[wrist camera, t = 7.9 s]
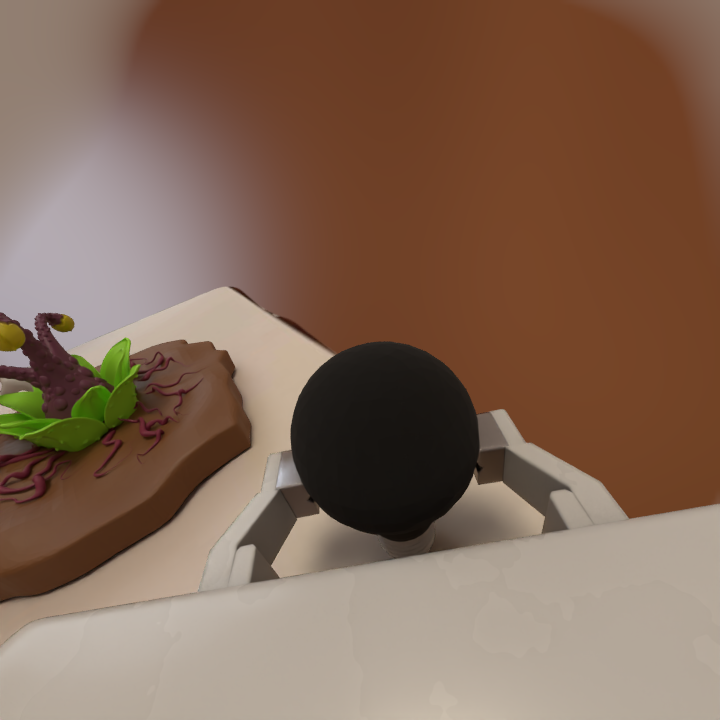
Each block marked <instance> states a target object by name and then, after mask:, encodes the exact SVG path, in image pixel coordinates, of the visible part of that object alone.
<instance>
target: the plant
mask: <svg viewBox="0 0 720 720" xmlns="http://www.w3.org/2000/svg"><path fill="white" fill-rule="evenodd" d="M35 320H36V321H35V325H36V327H35V329H36V330H37V331H38V333H37V334H38V339H39V340H40V341H39V340H36V339H35V338H34V337H33V333H32V332H31V331H30V330H28V329H24V328H22V327H21V326H20V323H19V322H18V321H16V320H12V319H10V318H9V317H7V316H6V315H5V314H4V313H0V351H16V350H17V349H18V348H21V349H22V350H23V354H24V355H25V356H28V358H29V359H30V366H31V368H21V367H12V366H9V367H7V366H5V365H1V366H0V378H6V379H15V380H18V381H26V382H28V383H30V384H31V385H32V387H33V390H34V391H33V392H17V393H10V394H4V395H0V404H1V405H3V406H6V407H9V408H12V409H14V410H16V411H18V412H16V413H14V414H12V413H11V414H3V415H0V601H2V600H5V599H8V598H11V597H15V596H30V595H37V594H40V593H44V592H46V591H49V590H51V589H54V588H56V587H58V586H60V585H63V584H65V583H68V582H70V581H72V580H74V579H76V578H78V577H80V576H82V575H83V574H85V573H87V572H89V571H91V570H92V569H94V568H95V567H97V566H98V565H100V564H101V563H103V562H104V561H106V560H107V559H109V558H110V557H112V556H113V555H115V554H116V553H118V552H119V551H121V550H123V549H125V548H127V547H128V546H130V545H131V544H133V543H135V542H136V541H138V540H140V539H141V538H143V537H144V536H146V535H148V534H149V533H151V532H153V531H155V530H156V529H158V528H159V527H161V526H162V525H163V524H165V523H166V522H167V521H168V520H170V519H171V517H172V516H173V515H174V514H175V513H176V511H177V510H178V509H179V507H180V506H181V505H182V503H183V502H184V500H185V499H186V498H187V497H188V495H189V494H190V493H191V492H192V491H193V489H194V488H195V487H196V486H197V485H198V484H199V483H201V482H202V481H203V480H204V479H205V478H206V477H208V476H209V475H210V474H212V473H213V472H214V471H216V470H217V469H218V468H220V467H221V466H222V465H224V464H225V463H227V462H228V461H229V460H231V459H232V458H234V457H235V456H237V455H238V454H240V453H241V452H243V451H244V450H246V449H247V448H249V447H250V446H251V444H250V430H251V424H250V421H249V419H248V417H247V416H246V414H245V412H244V410H243V409H242V397H241V394H240V392H239V391H238V389H237V387H236V385H235V383H234V381H233V380H232V378H231V376H232V373H233V372H234V370H235V366H234V364H233V362H232V360H231V358H230V356H229V354H228V352H227V351H226V350H216V349H215V347H214V345H213V343H211V342H209V341H205V342H199V343H192V344H188V343H187V342H186V341H185V340H177V341H171V342H166V343H162V344H159V345H155V346H152V347H150V348H147V349H145V350H142V351H140V352H138V353H135V354H133V355H130V356H129V352H130V346H131V341H130V339H128V338H124V339H123V340H121V341H120V342H118V343H117V344H115V345H114V346H113V347H112V348H111V349H110V350H109V352H108V353H107V355H106V356H105V358H104V360H103V362H102V365H100V366H97V367H95V368H94V367H93V366H92V365H91V364H90V363H89V362H87V361H86V360H85V359H84V358H83V357H81V356H78V355H70V354H68V353H67V352H66V351H65V350H64V349H63V347H62V346H61V345H60V344H59V343H58V341H57V340H56V339H55V338H54V336H53V335H52V333H51V331H50V328H48V326H47V322H48V323H49V325H51V327H52V328H54V329H55V330H57V331H60V332H68V331H72V329H73V328H74V321H73V319H72V318H70V317H69V316H67V315H64V314H58V313H47V314H46V313H42V314H41V313H38V316H36V318H35Z"/></svg>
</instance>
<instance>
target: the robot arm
mask: <svg viewBox="0 0 720 720" xmlns="http://www.w3.org/2000/svg"><path fill="white" fill-rule="evenodd" d="M476 415H477V419H478V428H479V441H480V447H479V456H478V459H477V463H476V466H475V470H474V475H475V478H476V480H477V483H478V485H481V484H487V483H494V482H500V481H503V483H504V484H506V485H507V486H508V487H509V488H511V489H512V490H513V491H514V492H515V493H517V494H518V495H519V496H520V497H522V498H523V499H524V500H525V501H526V502H528V503H529V504H530V505H531V506H533V507H534V508H535V509H536V510H537V511H539V512H540V513H541V514H542V515H544V516H545V520H544V525H543V529H542V534H538V535H532V536H526V537H520V538H514V539H509V540H503V541H497V542H491V543H485V544H479V545H473V546H467V547H461V548H455V549H449V550H443V551H437V552H432V553H426V554H420V555H414V556H408V557H402V558H396V559H390V560H384V561H379V562H373V563H367V564H361V565H355V566H349V567H343V568H337V569H332V570H326V571H320V572H314V573H308V574H302V575H296V576H290V577H284V578H280V577H279V576H278V575H277V574H276V572H275V571H274V570H273V568H272V567H271V565H272V563H273V561H274V559H275V558H276V556H277V554H278V552H279V551H280V549H281V547H282V545H283V544H284V542H285V540H286V538H287V536H288V535H289V533H290V531H291V529H292V528H293V526H294V524H295V522H296V521H297V519H296V518H300V517H305V516H310V515H314V514H319V505H318V504H317V503H316V502H315V501H314V500H313V498H312V497H311V496H310V495H309V494H308V493H307V491H306V489H305V488H304V486H303V484H302V482H301V480H300V477H299V475H298V472H297V470H296V467H295V464H294V461H293V456H292V450H288V451H283V452H278V453H272V454H270V455H269V457H268V459H267V464H266V469H265V474H264V479H263V484H262V488H261V493H257V494H256V495H255V496H254V497H253V499H252V500H251V501H250V502H249V504H248V505H247V506H246V507H245V508H244V510H243V511H242V512H241V513H240V515H239V516H238V517H237V518H236V519H235V521H234V522H233V523H232V524H231V526H230V527H229V528H228V529H227V530H226V532H225V533H224V534H223V535H222V536H221V538H220V539H219V540H218V541H217V543H216V544H215V545H214V546H213V547H212V549H211V550H210V552H209V555H208V559H207V562H206V565H205V569H204V572H203V575H202V579H201V582H200V585H199V589H198V592H196V593H190V594H184V595H178V596H172V597H166V598H160V599H154V600H148V601H142V602H136V603H130V604H124V605H118V606H112V607H106V608H100V609H94V610H88V611H83V612H77V613H71V614H64V615H58V616H52V617H46V618H41V619H37V620H34V621H32V622H30V623H28V624H26V625H25V626H23V627H22V628H21V629H20V630H18V631H17V632H16V633H15V634H13V635H12V636H11V637H10V638H9V639H7V640H6V641H5V642H4V643H3V644H2V645H1V646H0V720H720V504H715V505H709V506H704V507H697V508H692V509H686V510H680V511H674V512H668V513H662V514H656V515H651V516H644V517H638V518H632V519H629V518H628V517H627V515H626V514H625V513H624V512H623V510H622V509H621V508H620V506H619V505H618V504H617V502H616V501H615V500H614V499H613V497H612V496H611V495H610V493H609V492H608V491H607V489H606V488H605V487H604V485H603V484H602V483H601V482H600V481H598V480H596V479H595V478H593V477H591V476H589V475H587V474H585V473H584V472H582V471H580V470H578V469H577V468H575V467H573V466H571V465H570V464H568V463H566V462H564V461H562V460H561V459H559V458H557V457H555V456H553V455H552V454H550V453H548V452H546V451H544V450H543V449H541V448H539V447H537V446H536V445H534V444H532V443H526V442H525V441H524V439H523V438H522V436H521V434H520V433H519V431H518V430H517V428H516V426H515V425H514V423H513V422H512V420H511V418H510V417H509V415H508V414H507V412H506V411H505V410H504V409H501V410H496V411H491V412H485V413H480V414H476Z"/></svg>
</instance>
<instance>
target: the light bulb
mask: <svg viewBox="0 0 720 720" xmlns="http://www.w3.org/2000/svg"><path fill="white" fill-rule="evenodd" d="M479 447H480V441H479V428H478V419H477V415H476V412H475V409H474V406H473V404H472V401H471V399H470V396H469V394H468V392H467V390H466V389H465V387H464V386H463V384H462V383H461V382H460V380H459V379H458V378H457V377H456V375H455V374H454V373H453V372H452V371H451V370H450V369H449V368H448V367H447V366H446V365H445V364H444V363H443V362H441V361H440V360H438V359H437V358H435V357H434V356H432V355H431V354H429V353H427V352H426V351H423V350H421V349H418V348H416V347H413V346H410V345H406V344H401V343H394V342H371V343H366V344H362V345H358V346H355V347H352V348H349V349H347V350H344V351H342V352H340V353H338V354H337V355H335V356H334V357H332V358H331V359H329V360H328V361H327V362H326V363H324V364H323V365H322V366H321V367H320V368H319V369H318V370H317V371H316V372H315V373H314V374H313V375H312V376H311V377H310V379H309V380H308V382H307V383H306V385H305V386H304V388H303V390H302V392H301V394H300V395H299V398H298V401H297V404H296V407H295V410H294V414H293V419H292V424H291V449H292V456H293V461H294V464H295V467H296V470H297V472H298V475H299V477H300V480H301V482H302V484H303V486H304V488H305V489H306V491H307V493H308V494H309V495H310V496H311V497H312V498H313V500H314V501H315V502H316V503H317V504H318V505H319V507H320V508H321V509H322V510H323V511H324V512H326V513H327V514H328V515H329V516H330V517H332V518H333V519H335V520H337V521H338V522H340V523H342V524H344V525H346V526H349V527H351V528H354V529H356V530H358V531H362V532H365V533H369V534H376V535H377V537H378V540H379V542H380V544H381V546H382V547H383V548H384V550H385V551H386V552H387V553H388V554H389V555H391V556H392V557H394V558H402V557H408V556H414V555H420V554H426V553H427V552H428V551H429V549H430V548H431V546H432V545H433V542H434V539H435V525H434V521H436V520H437V519H439V518H440V517H442V516H444V515H445V514H446V513H447V512H448V511H449V510H450V509H451V508H452V507H453V505H454V504H455V503H456V502H457V501H458V500H459V499H460V498H461V497H462V495H463V494H464V492H465V491H466V489H467V488H468V486H469V484H470V481H471V479H472V477H473V473H474V470H475V466H476V463H477V459H478V456H479Z"/></svg>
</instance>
